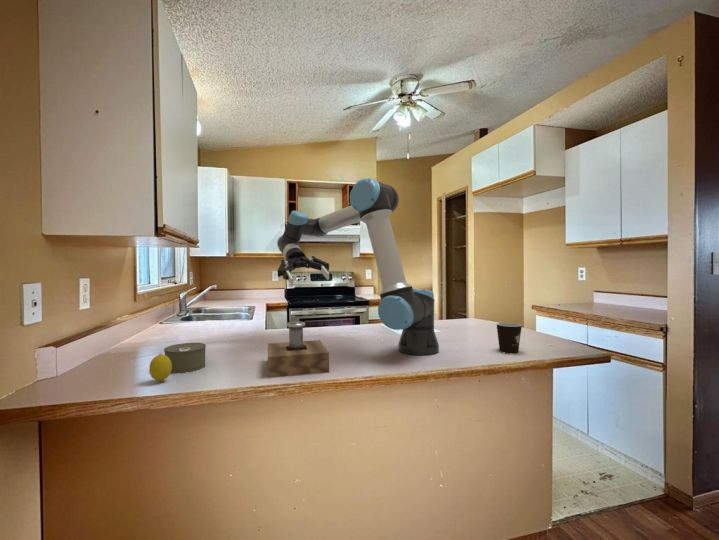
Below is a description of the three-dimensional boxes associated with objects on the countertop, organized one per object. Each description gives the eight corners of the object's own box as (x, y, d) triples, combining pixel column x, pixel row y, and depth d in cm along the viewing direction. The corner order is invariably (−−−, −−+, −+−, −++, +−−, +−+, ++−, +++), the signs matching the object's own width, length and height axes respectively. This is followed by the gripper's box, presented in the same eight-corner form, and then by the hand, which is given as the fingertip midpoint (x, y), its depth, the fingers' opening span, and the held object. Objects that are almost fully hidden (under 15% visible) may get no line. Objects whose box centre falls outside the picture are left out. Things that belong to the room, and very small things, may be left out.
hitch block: (320, 357, 125) (320, 340, 125) (329, 372, 108) (328, 352, 108) (267, 361, 121) (267, 343, 121) (268, 377, 103) (267, 357, 103)
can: (207, 361, 121) (206, 341, 121) (205, 371, 110) (204, 349, 110) (167, 365, 117) (167, 344, 117) (161, 376, 106) (160, 353, 106)
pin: (308, 364, 116) (307, 321, 116) (301, 369, 111) (300, 325, 110) (292, 363, 118) (291, 321, 118) (284, 368, 112) (283, 324, 112)
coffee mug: (506, 355, 126) (506, 327, 126) (491, 349, 135) (491, 323, 134) (534, 352, 129) (534, 325, 129) (518, 347, 137) (518, 321, 137)
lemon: (148, 381, 101) (148, 353, 101) (170, 377, 104) (170, 350, 104) (150, 386, 96) (150, 357, 96) (173, 382, 100) (172, 354, 99)
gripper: (322, 260, 152) (341, 283, 135) (264, 267, 142) (276, 293, 125) (323, 244, 149) (342, 265, 132) (263, 250, 139) (275, 274, 122)
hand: (310, 279), depth 129 cm, fingers open, 13 cm apart
